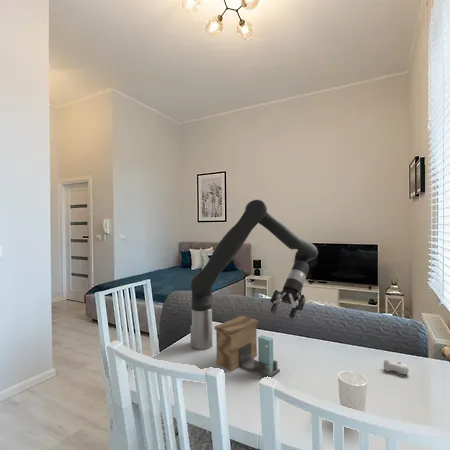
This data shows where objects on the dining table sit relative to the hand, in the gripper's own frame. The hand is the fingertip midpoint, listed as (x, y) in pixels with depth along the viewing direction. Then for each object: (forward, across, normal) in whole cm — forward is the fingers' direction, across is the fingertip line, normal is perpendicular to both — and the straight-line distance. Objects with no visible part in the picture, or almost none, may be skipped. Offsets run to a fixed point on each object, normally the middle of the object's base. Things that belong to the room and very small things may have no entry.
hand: (281, 315), depth 116 cm
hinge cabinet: (+21, -7, +5) cm, 23 cm away
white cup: (+23, +32, +4) cm, 39 cm away
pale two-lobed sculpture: (-1, +37, +27) cm, 46 cm away
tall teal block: (+21, 0, +4) cm, 21 cm away
